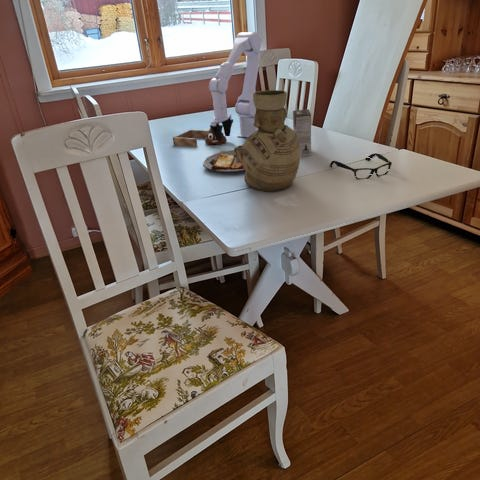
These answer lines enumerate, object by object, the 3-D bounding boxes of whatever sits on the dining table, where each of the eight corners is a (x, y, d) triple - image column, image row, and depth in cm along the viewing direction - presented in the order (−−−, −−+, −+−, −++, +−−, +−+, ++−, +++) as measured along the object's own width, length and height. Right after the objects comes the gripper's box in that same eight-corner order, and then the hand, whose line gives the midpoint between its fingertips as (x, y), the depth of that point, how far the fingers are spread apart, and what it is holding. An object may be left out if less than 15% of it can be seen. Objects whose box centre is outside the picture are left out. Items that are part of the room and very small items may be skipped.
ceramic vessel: (234, 179, 148) (226, 90, 134) (293, 172, 149) (291, 83, 135) (240, 199, 131) (231, 101, 117) (306, 192, 132) (305, 93, 118)
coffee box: (293, 150, 172) (292, 110, 165) (308, 149, 172) (308, 109, 164) (295, 156, 164) (294, 115, 157) (311, 155, 164) (311, 114, 156)
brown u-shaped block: (213, 138, 200) (212, 130, 199) (196, 146, 189) (195, 139, 188) (191, 136, 206) (190, 129, 204) (173, 145, 195) (172, 137, 193)
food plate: (259, 176, 149) (258, 166, 148) (197, 176, 154) (195, 167, 153) (269, 154, 171) (268, 146, 169) (214, 155, 176) (213, 147, 174)
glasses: (351, 185, 137) (352, 171, 134) (327, 167, 152) (327, 154, 149) (395, 177, 140) (397, 162, 138) (368, 160, 155) (369, 147, 152)
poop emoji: (227, 139, 195) (225, 119, 191) (225, 145, 188) (223, 124, 183) (206, 141, 197) (204, 121, 192) (203, 146, 189) (201, 125, 185)
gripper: (220, 103, 190) (223, 133, 196) (203, 110, 179) (207, 142, 185) (234, 104, 187) (236, 134, 193) (217, 111, 176) (221, 143, 182)
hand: (223, 138), depth 189 cm, fingers open, 7 cm apart
